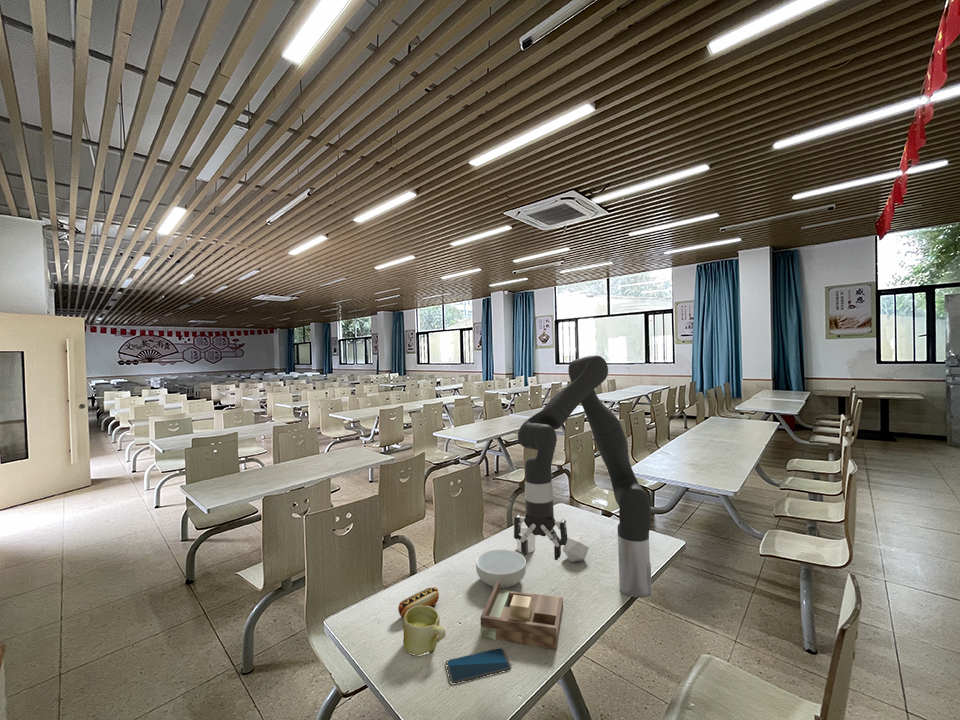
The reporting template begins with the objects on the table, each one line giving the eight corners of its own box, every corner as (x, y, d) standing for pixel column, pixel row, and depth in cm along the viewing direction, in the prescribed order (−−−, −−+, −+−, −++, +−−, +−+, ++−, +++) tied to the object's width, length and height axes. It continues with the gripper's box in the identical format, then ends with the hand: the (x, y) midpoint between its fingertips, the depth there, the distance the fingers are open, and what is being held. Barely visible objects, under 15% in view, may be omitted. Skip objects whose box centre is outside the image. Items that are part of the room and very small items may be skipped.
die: (586, 568, 146) (595, 541, 150) (564, 557, 146) (573, 530, 150) (577, 566, 154) (586, 540, 158) (556, 555, 154) (565, 530, 158)
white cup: (520, 555, 156) (519, 529, 156) (512, 546, 164) (511, 521, 164) (539, 552, 158) (538, 525, 158) (531, 543, 166) (530, 518, 166)
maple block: (532, 614, 116) (531, 596, 116) (529, 626, 111) (528, 607, 111) (514, 612, 118) (513, 594, 118) (510, 623, 113) (509, 605, 113)
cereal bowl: (520, 599, 129) (519, 577, 128) (469, 591, 134) (468, 570, 134) (531, 571, 145) (530, 551, 145) (485, 565, 150) (485, 546, 150)
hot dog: (443, 605, 127) (442, 589, 127) (405, 625, 118) (404, 608, 118) (433, 599, 131) (432, 583, 131) (396, 618, 122) (395, 601, 122)
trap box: (563, 607, 124) (562, 589, 124) (556, 649, 107) (556, 628, 106) (497, 598, 129) (496, 581, 129) (481, 637, 112) (480, 617, 112)
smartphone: (512, 671, 100) (512, 667, 100) (450, 687, 96) (450, 683, 96) (502, 650, 108) (502, 646, 108) (444, 664, 104) (444, 660, 104)
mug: (388, 640, 110) (401, 602, 110) (419, 633, 117) (431, 598, 117) (413, 674, 101) (427, 633, 101) (445, 665, 108) (457, 627, 108)
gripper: (567, 495, 114) (569, 554, 114) (517, 490, 120) (519, 547, 120) (562, 504, 107) (564, 567, 108) (509, 499, 113) (511, 559, 113)
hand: (541, 556), depth 114 cm, fingers open, 8 cm apart
